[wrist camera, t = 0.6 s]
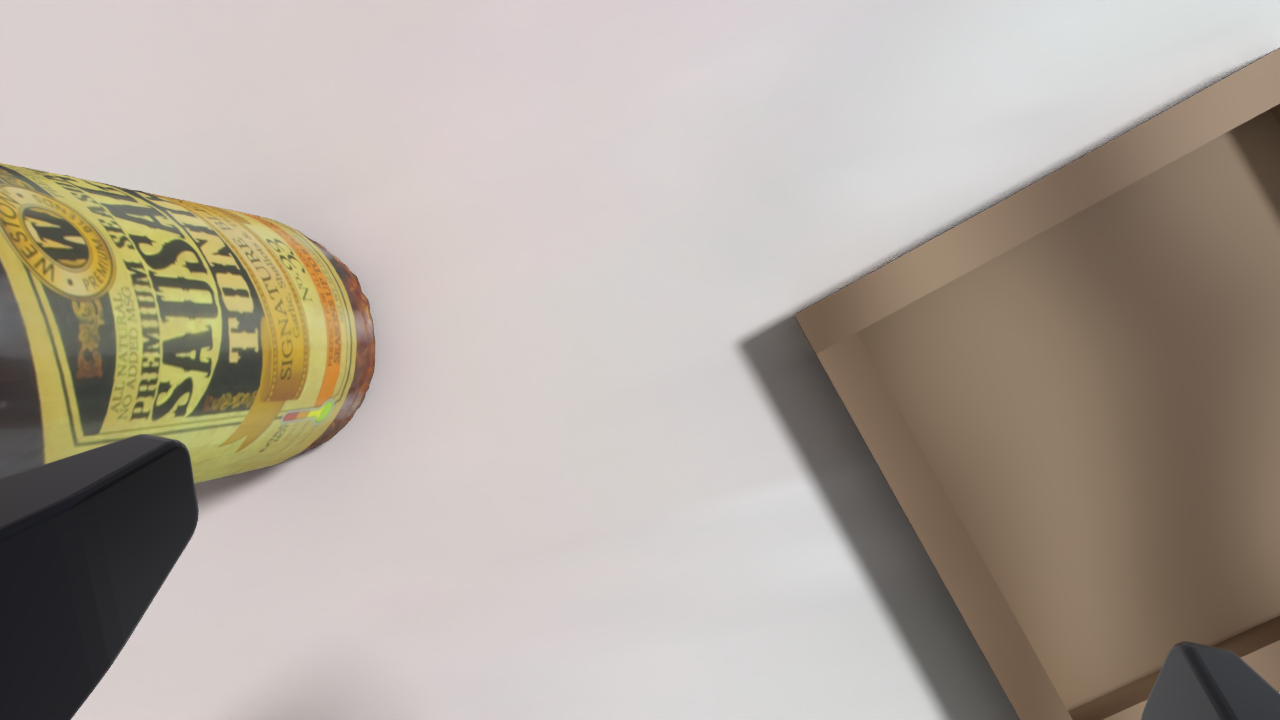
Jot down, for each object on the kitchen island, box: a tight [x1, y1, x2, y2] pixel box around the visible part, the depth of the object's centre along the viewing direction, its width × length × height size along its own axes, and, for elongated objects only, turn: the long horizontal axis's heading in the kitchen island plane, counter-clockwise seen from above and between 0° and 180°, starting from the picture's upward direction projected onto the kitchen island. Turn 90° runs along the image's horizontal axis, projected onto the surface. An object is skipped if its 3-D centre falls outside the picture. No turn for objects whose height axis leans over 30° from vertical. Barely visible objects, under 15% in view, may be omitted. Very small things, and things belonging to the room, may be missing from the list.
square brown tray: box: [795, 48, 1280, 720], centre depth 22 cm, size 12×12×2 cm
